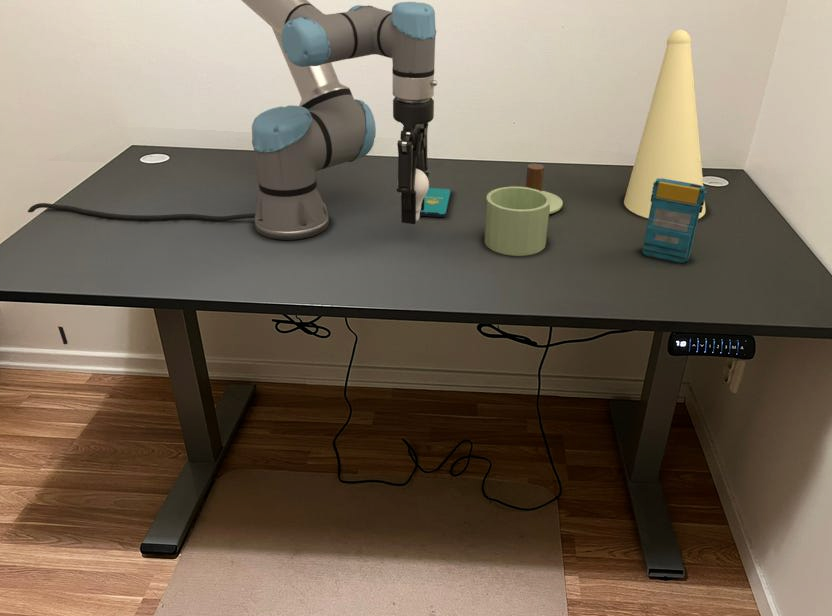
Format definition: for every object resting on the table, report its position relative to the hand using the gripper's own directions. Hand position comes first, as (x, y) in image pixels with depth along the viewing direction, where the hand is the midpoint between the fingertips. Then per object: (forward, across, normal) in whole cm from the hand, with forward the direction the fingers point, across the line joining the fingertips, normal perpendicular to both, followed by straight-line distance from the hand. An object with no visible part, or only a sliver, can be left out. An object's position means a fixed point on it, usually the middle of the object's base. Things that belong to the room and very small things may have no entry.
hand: (413, 215), depth 145 cm
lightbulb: (+2, 0, 0) cm, 2 cm away
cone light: (+5, +36, -50) cm, 62 cm away
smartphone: (+6, +20, +1) cm, 21 cm away
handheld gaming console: (+5, +6, -50) cm, 51 cm away
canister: (+5, +5, -20) cm, 22 cm away
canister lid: (+5, +25, -22) cm, 33 cm away
